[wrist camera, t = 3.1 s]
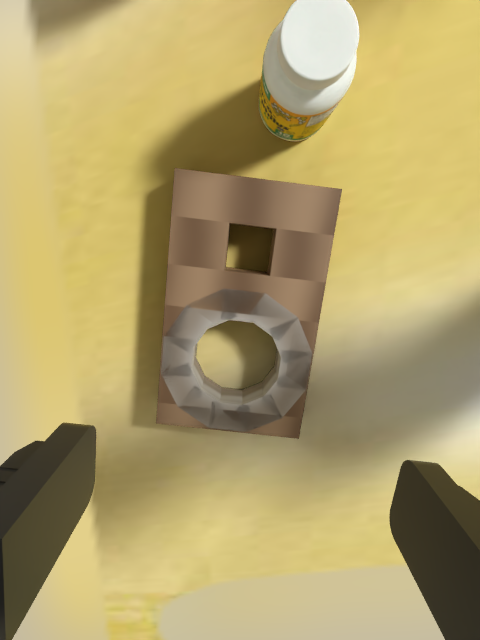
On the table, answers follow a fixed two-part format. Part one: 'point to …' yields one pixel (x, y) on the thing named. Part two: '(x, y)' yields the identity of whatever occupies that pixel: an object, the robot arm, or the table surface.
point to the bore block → (243, 297)
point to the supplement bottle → (307, 67)
